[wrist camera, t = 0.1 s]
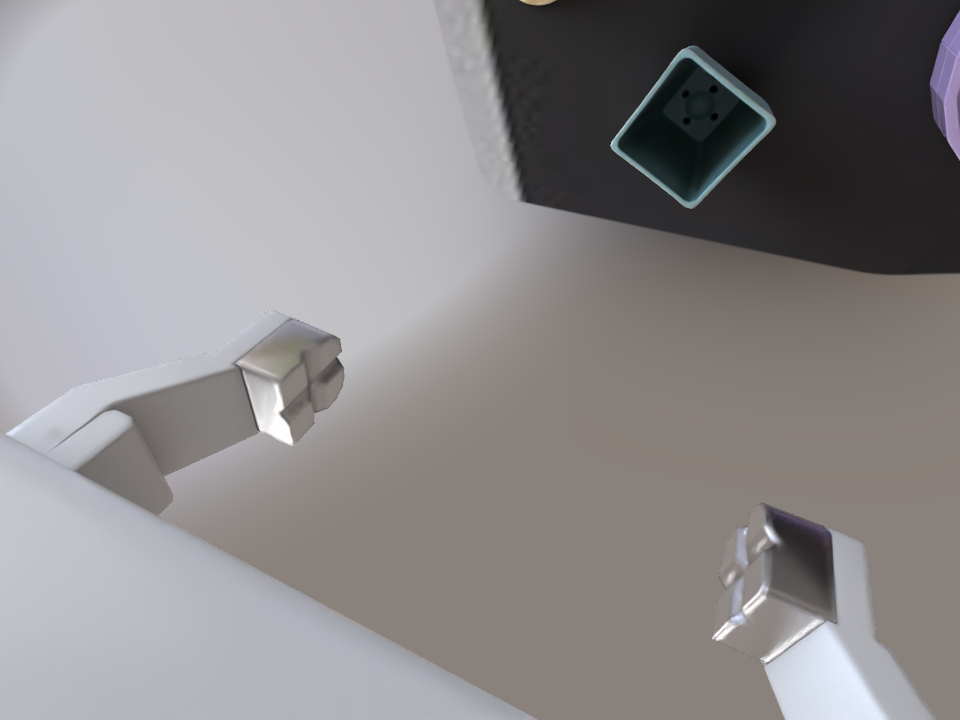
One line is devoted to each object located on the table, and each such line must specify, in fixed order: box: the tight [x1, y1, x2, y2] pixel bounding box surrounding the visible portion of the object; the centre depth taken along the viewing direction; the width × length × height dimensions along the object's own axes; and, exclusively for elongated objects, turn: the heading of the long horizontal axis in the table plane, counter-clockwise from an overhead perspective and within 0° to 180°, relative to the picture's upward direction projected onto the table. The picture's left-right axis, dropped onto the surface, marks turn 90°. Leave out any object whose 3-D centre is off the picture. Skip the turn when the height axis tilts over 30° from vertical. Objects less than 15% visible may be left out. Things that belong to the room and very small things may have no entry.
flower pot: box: [611, 46, 776, 209], centre depth 44 cm, size 9×9×9 cm
